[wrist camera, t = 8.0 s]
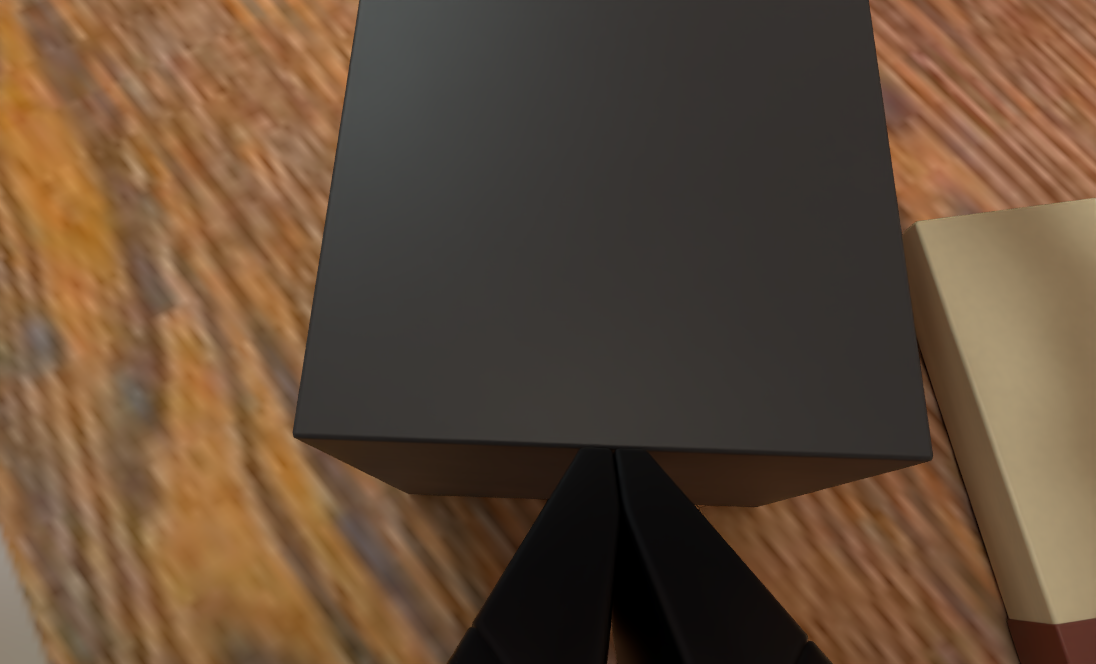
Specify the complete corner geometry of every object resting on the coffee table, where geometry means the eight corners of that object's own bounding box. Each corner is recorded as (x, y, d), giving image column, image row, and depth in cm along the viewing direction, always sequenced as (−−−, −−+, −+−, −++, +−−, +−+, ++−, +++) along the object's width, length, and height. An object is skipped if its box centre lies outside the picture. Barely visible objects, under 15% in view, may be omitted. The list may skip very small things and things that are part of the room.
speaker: (765, 507, 16) (949, 461, 8) (406, 494, 16) (289, 437, 9) (737, 69, 19) (848, -216, 12) (449, 61, 19) (393, -229, 12)
